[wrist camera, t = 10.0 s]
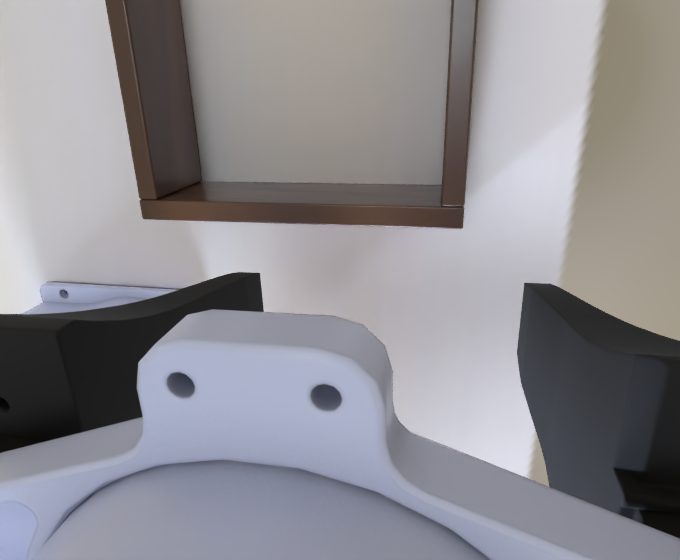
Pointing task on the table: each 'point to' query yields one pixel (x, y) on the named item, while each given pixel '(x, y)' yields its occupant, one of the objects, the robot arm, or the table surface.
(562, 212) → the table surface
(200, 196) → the cubby
